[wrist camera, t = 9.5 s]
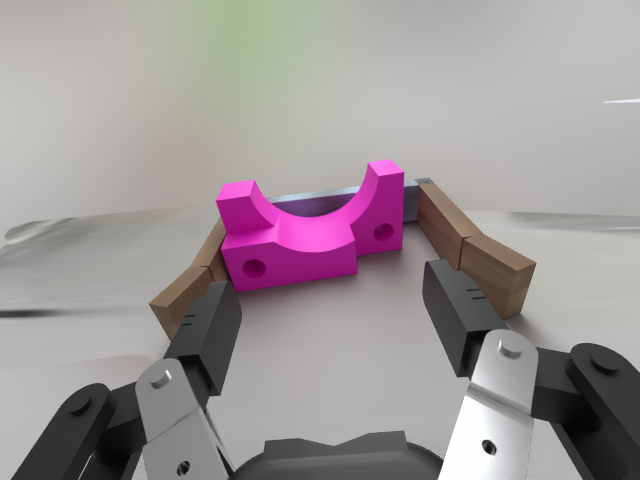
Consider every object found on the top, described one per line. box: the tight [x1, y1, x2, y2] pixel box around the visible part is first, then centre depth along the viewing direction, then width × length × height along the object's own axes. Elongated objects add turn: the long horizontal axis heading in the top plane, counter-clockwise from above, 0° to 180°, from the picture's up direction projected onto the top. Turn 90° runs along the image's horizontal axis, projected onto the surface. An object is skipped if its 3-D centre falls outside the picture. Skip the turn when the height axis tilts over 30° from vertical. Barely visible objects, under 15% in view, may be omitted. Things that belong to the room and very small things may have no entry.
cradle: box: [149, 178, 536, 342], centre depth 25 cm, size 24×16×4 cm, turn 91°
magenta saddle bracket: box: [216, 159, 404, 292], centre depth 26 cm, size 15×6×8 cm, turn 95°
